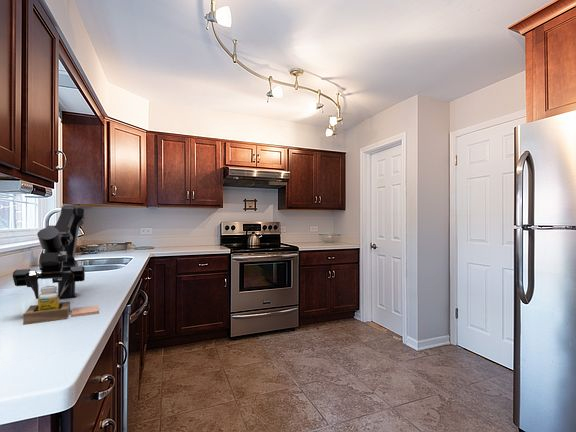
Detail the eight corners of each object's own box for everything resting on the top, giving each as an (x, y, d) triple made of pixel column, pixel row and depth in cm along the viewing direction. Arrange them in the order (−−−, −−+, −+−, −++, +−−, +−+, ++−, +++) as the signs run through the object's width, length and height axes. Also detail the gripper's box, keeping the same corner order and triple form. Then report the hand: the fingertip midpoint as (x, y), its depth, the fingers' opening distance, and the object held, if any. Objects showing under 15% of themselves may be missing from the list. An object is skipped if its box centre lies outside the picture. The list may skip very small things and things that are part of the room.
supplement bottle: (59, 313, 102) (60, 284, 102) (58, 317, 98) (58, 287, 98) (38, 316, 99) (39, 286, 99) (36, 320, 95) (37, 289, 95)
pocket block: (30, 314, 100) (30, 305, 100) (70, 310, 106) (70, 301, 106) (23, 324, 91) (23, 314, 91) (67, 318, 96) (67, 309, 97)
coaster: (72, 311, 105) (72, 308, 105) (98, 307, 109) (98, 305, 109) (71, 316, 98) (71, 314, 98) (98, 313, 102) (98, 310, 102)
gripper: (14, 244, 97) (4, 285, 88) (85, 242, 107) (82, 279, 97) (19, 266, 104) (10, 306, 94) (85, 262, 114) (83, 298, 104)
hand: (48, 297), depth 97 cm, fingers closed on supplement bottle, 5 cm apart
